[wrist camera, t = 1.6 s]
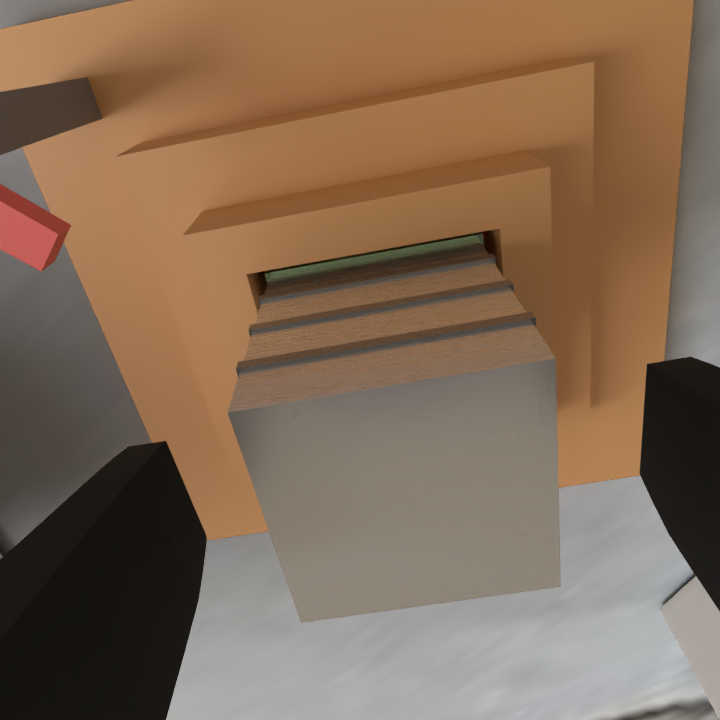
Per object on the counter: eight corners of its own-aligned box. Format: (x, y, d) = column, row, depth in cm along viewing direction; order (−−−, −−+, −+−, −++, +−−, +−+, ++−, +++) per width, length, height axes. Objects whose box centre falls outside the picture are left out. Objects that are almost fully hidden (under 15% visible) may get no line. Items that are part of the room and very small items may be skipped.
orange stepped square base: (203, 514, 19) (129, 766, 13) (3, 35, 13) (-379, 36, 6) (637, 447, 18) (802, 683, 12) (671, -110, 12) (1107, -299, 5)
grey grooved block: (313, 424, 14) (297, 626, 9) (269, 259, 12) (219, 408, 7) (489, 396, 14) (566, 589, 9) (474, 221, 12) (563, 351, 7)
